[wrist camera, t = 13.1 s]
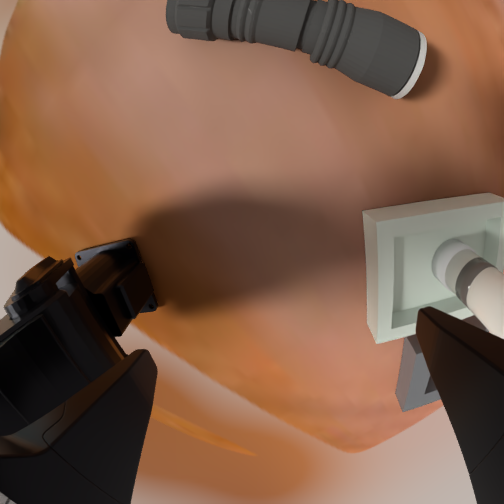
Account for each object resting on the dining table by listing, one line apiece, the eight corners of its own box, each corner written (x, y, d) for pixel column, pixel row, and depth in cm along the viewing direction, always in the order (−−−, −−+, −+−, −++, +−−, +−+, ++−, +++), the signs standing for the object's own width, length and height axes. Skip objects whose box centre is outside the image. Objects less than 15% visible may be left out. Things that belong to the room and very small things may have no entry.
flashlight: (175, 47, 16) (147, 22, 11) (197, -10, 14) (178, -44, 9) (384, 103, 17) (418, 94, 12) (397, 43, 15) (431, 22, 10)
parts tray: (366, 322, 23) (376, 344, 21) (362, 210, 20) (376, 222, 17) (480, 291, 22) (495, 306, 19) (489, 192, 18) (510, 200, 15)
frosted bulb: (437, 288, 21) (522, 394, 9) (426, 253, 20) (531, 356, 8) (468, 266, 20) (562, 355, 8) (460, 230, 19) (572, 312, 7)
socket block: (395, 393, 27) (402, 412, 24) (405, 334, 24) (416, 354, 21) (458, 371, 26) (468, 387, 23) (475, 312, 23) (490, 327, 20)
